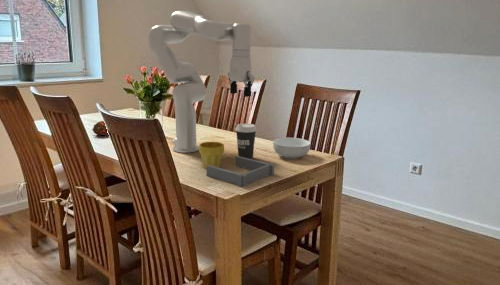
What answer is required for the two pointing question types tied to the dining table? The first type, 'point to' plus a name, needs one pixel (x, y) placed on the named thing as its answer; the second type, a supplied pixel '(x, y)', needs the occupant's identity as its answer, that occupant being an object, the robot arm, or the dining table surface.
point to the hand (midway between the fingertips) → (240, 94)
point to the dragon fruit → (100, 128)
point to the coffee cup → (245, 140)
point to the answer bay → (256, 173)
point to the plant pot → (211, 153)
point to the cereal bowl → (291, 147)
